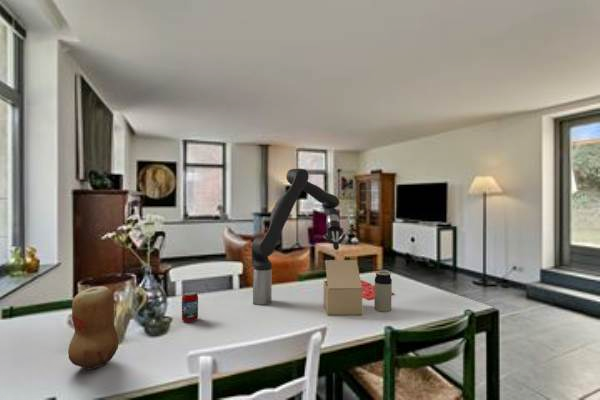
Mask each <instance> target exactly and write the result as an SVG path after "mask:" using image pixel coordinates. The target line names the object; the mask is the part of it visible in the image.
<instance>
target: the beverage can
mask: <svg viewBox="0 0 600 400" xmlns="http://www.w3.org/2000/svg"><path fill="white" fill-rule="evenodd" d="M198 319H199V295H198V293H197V292H196V291H193V290H191V291H189V290H188V291H186V292H183V295H182V296H181V321H182V322H185V323H193V322H195V321H196V320H198Z"/></svg>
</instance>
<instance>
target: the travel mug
mask: <svg viewBox="0 0 600 400" xmlns="http://www.w3.org/2000/svg"><path fill="white" fill-rule="evenodd" d="M391 276H392V272H390V271H387V270H377V271H375V278H374V285H375V298H374V310H376V311H378V312H382V313H387V312H390V311H392V296H393V295H392V286H393V285H392V282H393V280H392V277H391Z"/></svg>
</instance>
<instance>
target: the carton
mask: <svg viewBox="0 0 600 400" xmlns="http://www.w3.org/2000/svg"><path fill="white" fill-rule="evenodd" d="M362 292H363V290H362V289H328V283H327V280H323V307H324V309H325V313H326V315H327V317H328V316H329V317H330V316H332V317H334V316H335V317H336V316H337V317H338V316H341V317H342V316H344V317H345V316H348V317H349V316H351V317H352V316H355V317H356V316H357V317H358V316H363V298H362Z"/></svg>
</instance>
